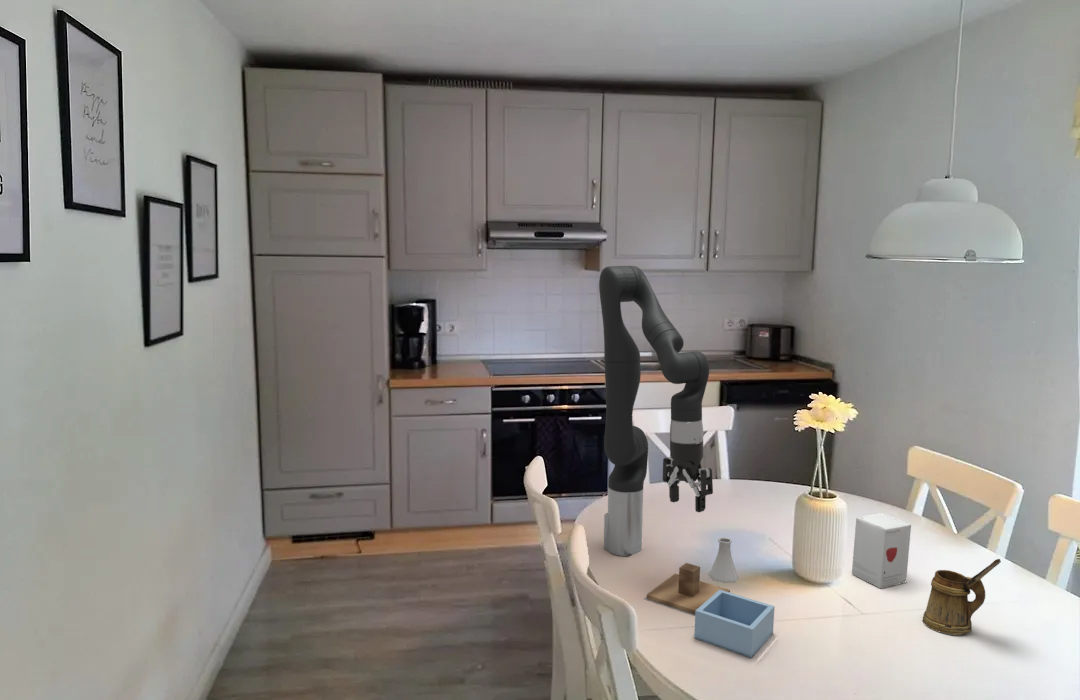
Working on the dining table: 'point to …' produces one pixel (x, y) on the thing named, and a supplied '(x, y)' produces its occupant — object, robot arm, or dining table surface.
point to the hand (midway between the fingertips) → (687, 506)
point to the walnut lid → (684, 590)
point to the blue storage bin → (734, 623)
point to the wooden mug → (954, 600)
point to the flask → (724, 563)
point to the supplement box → (881, 549)
